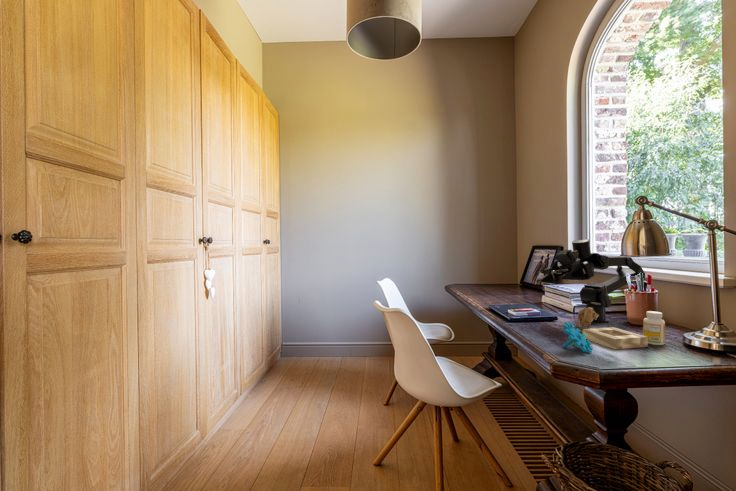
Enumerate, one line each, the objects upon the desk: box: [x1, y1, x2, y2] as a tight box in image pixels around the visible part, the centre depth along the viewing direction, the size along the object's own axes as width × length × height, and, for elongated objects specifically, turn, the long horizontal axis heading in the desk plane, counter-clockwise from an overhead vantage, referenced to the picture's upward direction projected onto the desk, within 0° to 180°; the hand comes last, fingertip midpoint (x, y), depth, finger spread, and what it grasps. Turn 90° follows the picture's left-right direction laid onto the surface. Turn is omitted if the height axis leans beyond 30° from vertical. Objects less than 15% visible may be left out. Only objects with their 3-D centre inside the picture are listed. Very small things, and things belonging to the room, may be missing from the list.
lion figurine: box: [575, 307, 599, 333], centre depth 130 cm, size 15×5×9 cm, turn 166°
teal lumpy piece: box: [562, 321, 594, 354], centre depth 107 cm, size 11×6×10 cm
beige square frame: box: [582, 326, 649, 350], centre depth 114 cm, size 12×12×3 cm
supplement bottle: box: [642, 310, 666, 346], centre depth 113 cm, size 5×5×10 cm
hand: (551, 279), depth 132 cm, fingers open, 9 cm apart
